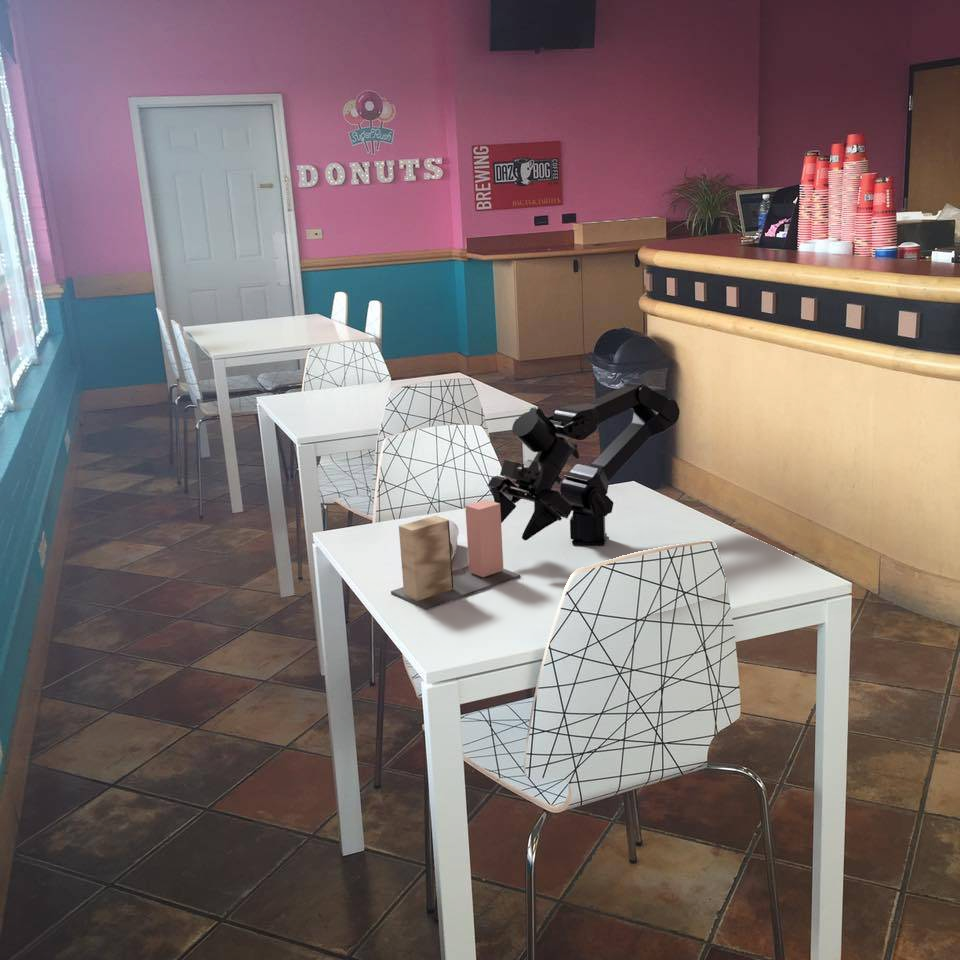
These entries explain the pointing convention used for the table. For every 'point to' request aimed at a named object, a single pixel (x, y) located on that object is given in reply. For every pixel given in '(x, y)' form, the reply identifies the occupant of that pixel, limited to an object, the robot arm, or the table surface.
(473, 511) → the stub
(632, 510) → the table surface
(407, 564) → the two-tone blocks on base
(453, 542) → the drinking glass
